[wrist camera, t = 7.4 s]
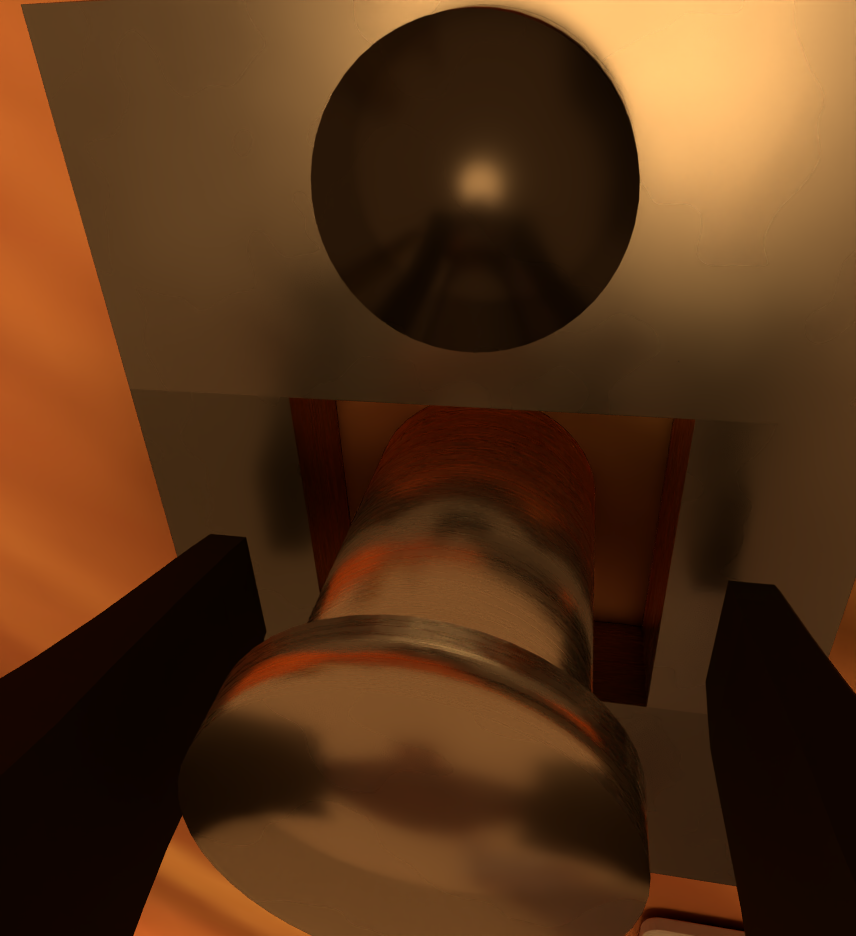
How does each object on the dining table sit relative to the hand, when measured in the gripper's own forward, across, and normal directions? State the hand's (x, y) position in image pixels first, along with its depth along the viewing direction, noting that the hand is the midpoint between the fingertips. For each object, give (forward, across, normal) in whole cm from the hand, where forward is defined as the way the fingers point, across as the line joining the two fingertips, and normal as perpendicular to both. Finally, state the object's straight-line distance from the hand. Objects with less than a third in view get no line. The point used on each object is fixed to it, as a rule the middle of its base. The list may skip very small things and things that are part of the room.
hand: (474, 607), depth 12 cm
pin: (+3, 0, 0) cm, 3 cm away
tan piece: (+3, 0, 0) cm, 3 cm away
